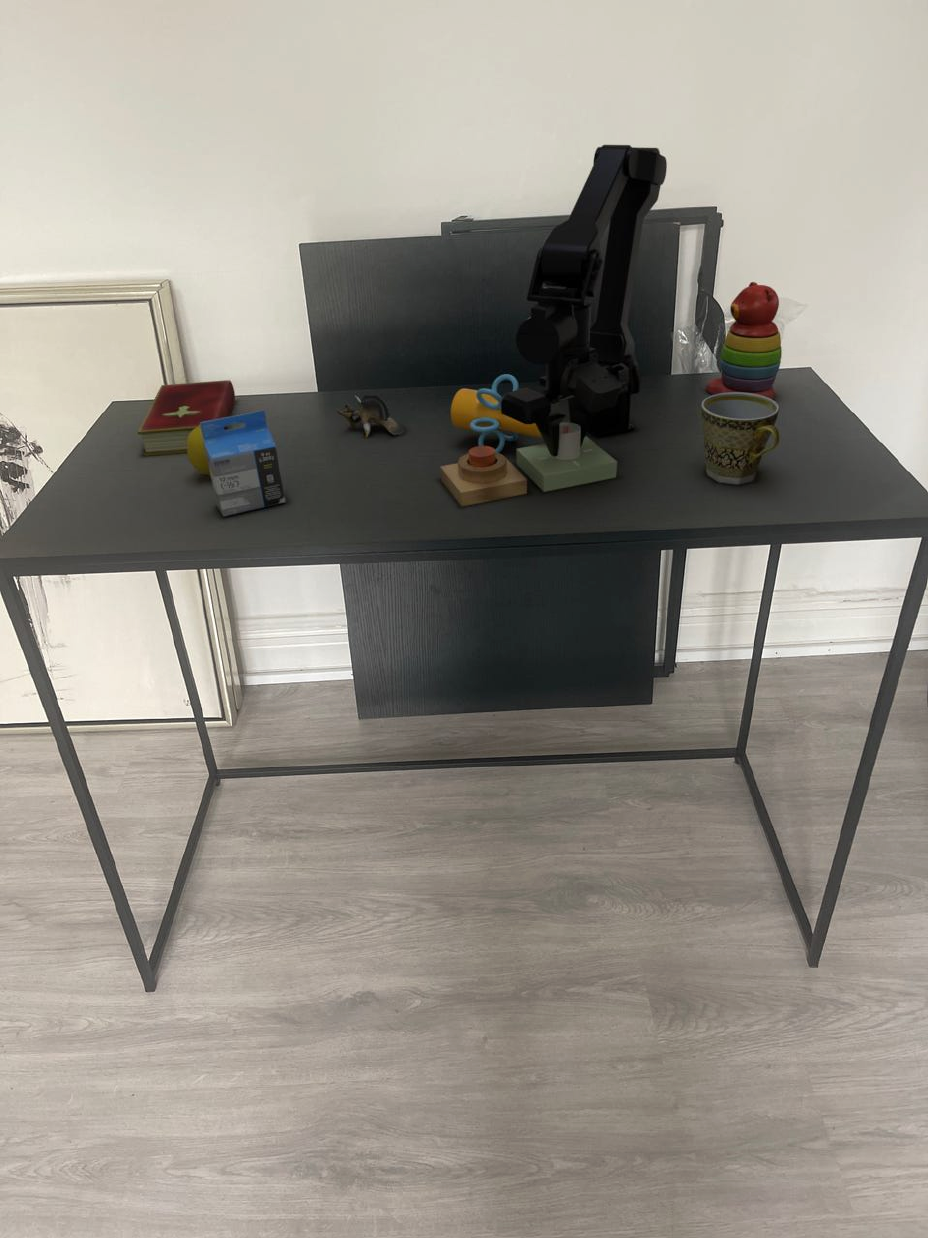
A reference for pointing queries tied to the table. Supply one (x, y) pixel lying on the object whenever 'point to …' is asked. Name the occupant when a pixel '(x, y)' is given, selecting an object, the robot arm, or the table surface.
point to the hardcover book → (183, 414)
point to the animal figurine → (371, 414)
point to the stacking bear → (751, 345)
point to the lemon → (197, 451)
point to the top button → (482, 456)
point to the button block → (482, 481)
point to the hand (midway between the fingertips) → (565, 451)
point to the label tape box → (242, 463)
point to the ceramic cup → (737, 434)
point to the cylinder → (488, 414)
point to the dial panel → (566, 466)
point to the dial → (569, 441)
